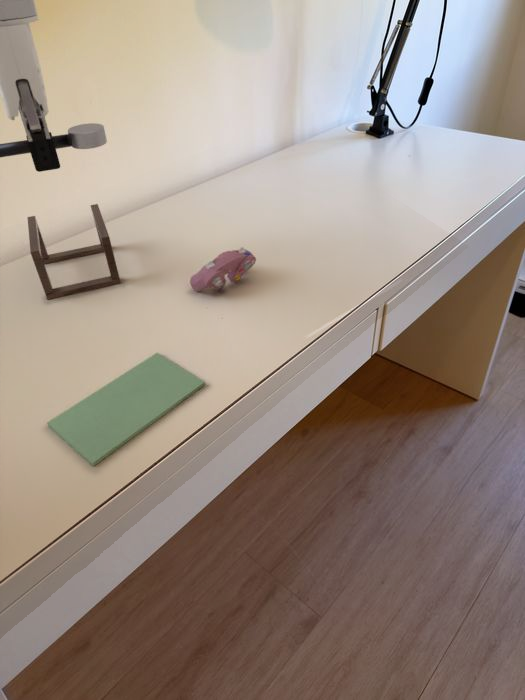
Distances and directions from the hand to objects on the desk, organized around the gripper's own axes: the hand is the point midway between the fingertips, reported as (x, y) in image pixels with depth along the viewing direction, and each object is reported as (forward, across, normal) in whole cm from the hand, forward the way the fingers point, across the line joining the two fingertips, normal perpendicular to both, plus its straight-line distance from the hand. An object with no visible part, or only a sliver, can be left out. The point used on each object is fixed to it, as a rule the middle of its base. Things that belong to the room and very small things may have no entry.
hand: (47, 165), depth 72 cm
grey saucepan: (-2, 0, +1) cm, 2 cm away
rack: (+18, -4, 0) cm, 19 cm away
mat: (+19, +31, +2) cm, 36 cm away
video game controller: (+19, +11, +20) cm, 30 cm away
